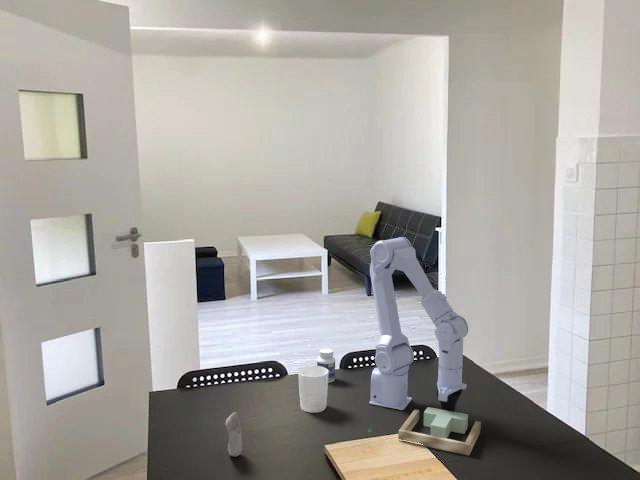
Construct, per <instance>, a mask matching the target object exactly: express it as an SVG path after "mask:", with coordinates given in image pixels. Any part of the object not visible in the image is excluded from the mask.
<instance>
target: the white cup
mask: <svg viewBox="0 0 640 480" xmlns="http://www.w3.org/2000/svg"><path fill="white" fill-rule="evenodd" d="M297 372H298V373H297V375H298V376H297V377H298V390H299V391H298V392H299V402H300V403H299V404H300V410H301V411H303V412H305V413H312V414H313V413H317V414H318V413H321V412H323V411H325V410H326V408H327V399H328V387H329V383H328V373H329V371H328V369H326V368H324V367H320V366H317V365H308V366H303V367H301V368H299V369H298V371H297Z"/></svg>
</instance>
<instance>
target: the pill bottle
mask: <svg viewBox="0 0 640 480" xmlns="http://www.w3.org/2000/svg"><path fill="white" fill-rule="evenodd" d="M318 352H319V354H318V355H319V356H318V357H317V360H316V364H317V365H316V366H320V367H324V368H326V369H328V371H329V373H328V384H330V383H333V382H335V380H336V359H335V357H333V356H334V350H333V349H331V348H321V349H320V350H318Z"/></svg>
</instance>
